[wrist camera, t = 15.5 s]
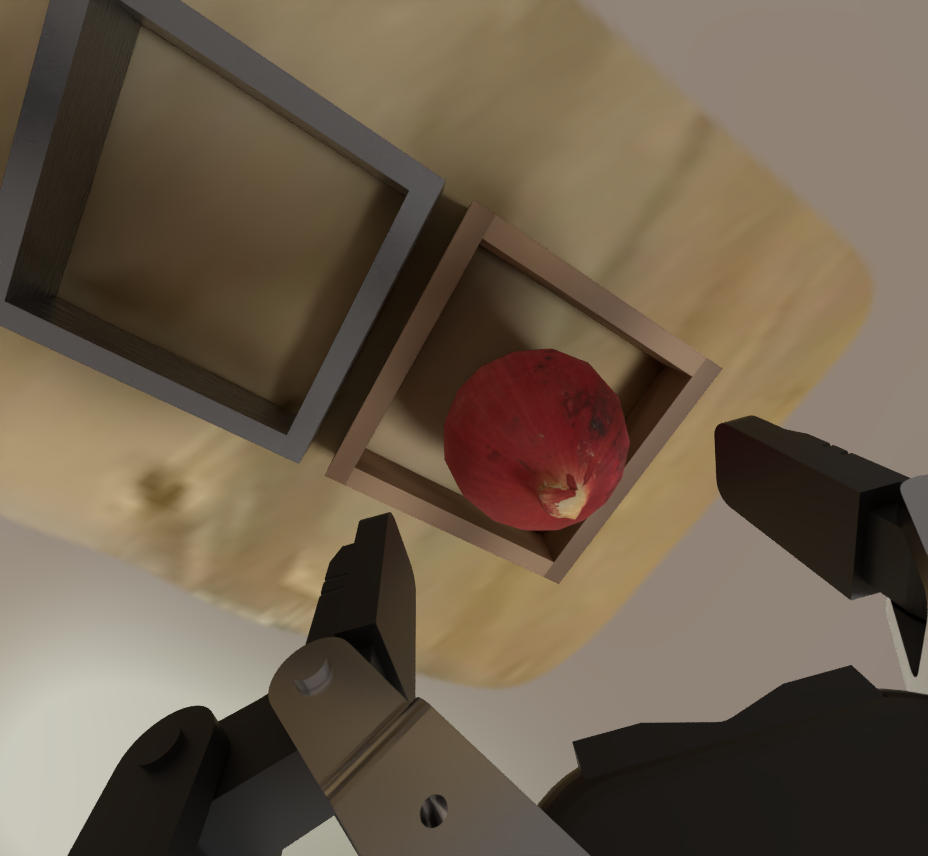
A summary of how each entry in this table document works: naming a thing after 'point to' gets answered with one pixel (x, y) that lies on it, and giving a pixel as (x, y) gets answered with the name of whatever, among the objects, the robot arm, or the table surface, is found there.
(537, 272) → the walnut frame
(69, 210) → the grey frame
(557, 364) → the pomegranate
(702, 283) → the table surface
